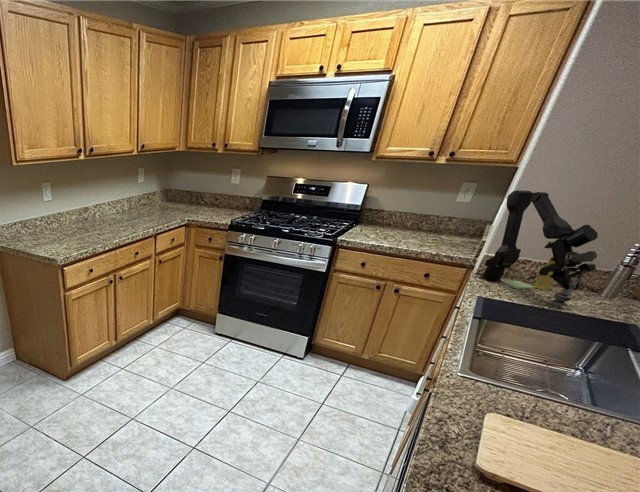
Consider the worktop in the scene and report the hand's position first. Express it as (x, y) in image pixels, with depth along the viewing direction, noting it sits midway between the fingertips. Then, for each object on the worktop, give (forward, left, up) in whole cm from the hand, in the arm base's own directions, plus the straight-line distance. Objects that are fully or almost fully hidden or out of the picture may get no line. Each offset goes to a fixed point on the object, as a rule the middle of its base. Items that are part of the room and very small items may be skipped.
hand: (572, 289), depth 165 cm
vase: (-22, +18, -9) cm, 30 cm away
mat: (-26, +9, -8) cm, 29 cm away
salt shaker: (-1, 0, -7) cm, 7 cm away
